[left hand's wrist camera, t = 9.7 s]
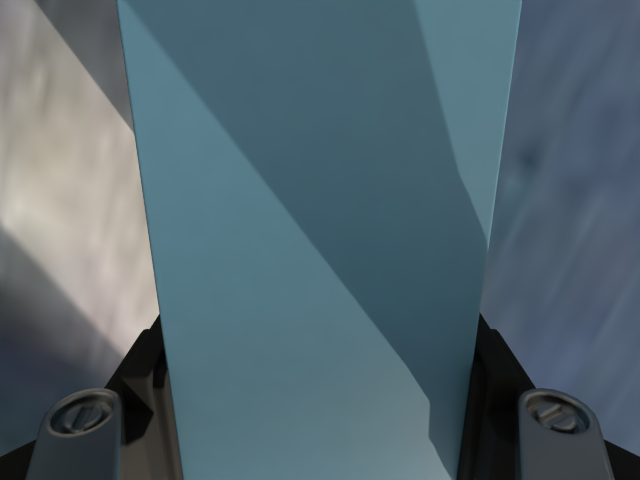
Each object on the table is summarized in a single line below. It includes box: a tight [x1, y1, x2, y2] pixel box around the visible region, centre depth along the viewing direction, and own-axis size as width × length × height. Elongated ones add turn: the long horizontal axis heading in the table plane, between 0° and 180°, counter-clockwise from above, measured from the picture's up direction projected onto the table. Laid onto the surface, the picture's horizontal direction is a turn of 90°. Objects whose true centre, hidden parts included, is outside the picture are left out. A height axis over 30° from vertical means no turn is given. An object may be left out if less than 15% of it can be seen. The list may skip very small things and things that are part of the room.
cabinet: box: [116, 0, 522, 480], centre depth 12 cm, size 20×6×12 cm, turn 0°
